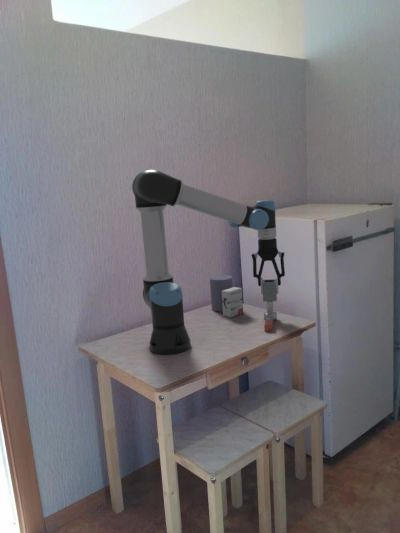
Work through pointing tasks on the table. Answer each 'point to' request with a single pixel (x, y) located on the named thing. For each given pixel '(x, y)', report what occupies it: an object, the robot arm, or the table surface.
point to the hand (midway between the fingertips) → (269, 293)
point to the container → (219, 290)
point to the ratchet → (269, 317)
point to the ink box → (232, 301)
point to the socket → (269, 290)
